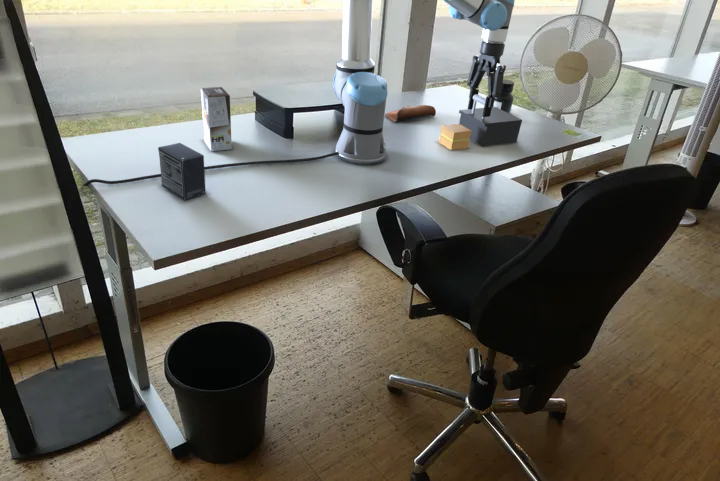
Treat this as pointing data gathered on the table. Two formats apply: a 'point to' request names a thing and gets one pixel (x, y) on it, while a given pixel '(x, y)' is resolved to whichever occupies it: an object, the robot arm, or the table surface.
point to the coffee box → (216, 118)
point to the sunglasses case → (411, 112)
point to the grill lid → (495, 118)
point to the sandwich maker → (491, 132)
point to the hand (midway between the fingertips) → (478, 112)
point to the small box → (182, 171)
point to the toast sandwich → (454, 136)
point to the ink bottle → (505, 96)
